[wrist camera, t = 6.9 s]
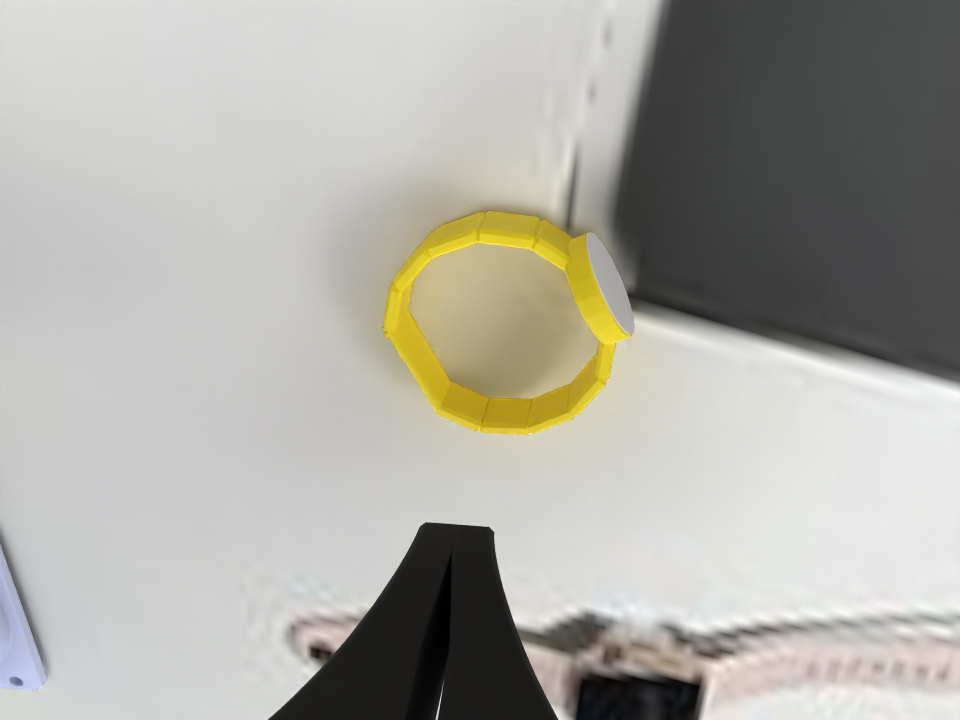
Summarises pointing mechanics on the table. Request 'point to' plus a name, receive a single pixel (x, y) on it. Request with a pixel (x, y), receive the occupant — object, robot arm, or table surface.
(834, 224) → the table surface
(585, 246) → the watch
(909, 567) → the table surface
